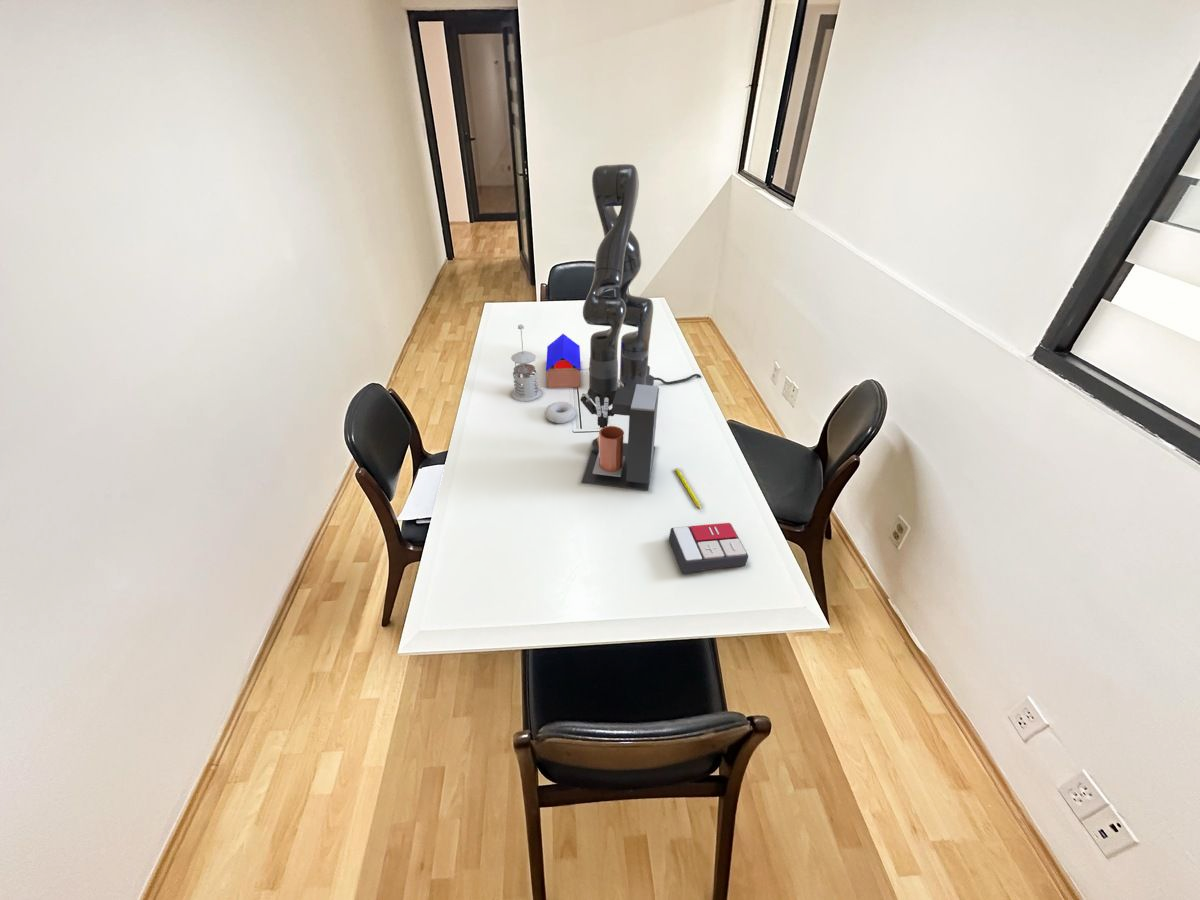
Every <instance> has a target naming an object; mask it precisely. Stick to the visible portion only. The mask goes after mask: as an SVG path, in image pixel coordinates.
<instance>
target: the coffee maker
mask: <svg viewBox="0 0 1200 900" xmlns="http://www.w3.org/2000/svg"><path fill="white" fill-rule="evenodd" d="M659 392H660V387H659V386H658V385H652V386H651V385H640V384H636V387H635V390H634V389H623V388H619V387H617V390H616V394H615V397H614V400H613V403H612V405H611V409H612V414H615V415H618V416H628V417H629V418H628V435H627V443H628V454H627V475H626V481H629V482H637V483H646V484H649V480H650V481H651V477H650V474H651V475H652V471H651V468H652V469H653V465H652V461H653V462H654V458H653V454H654V455H655V452H654V446H655V443H656V442H655V439H656V428H657V417H658V406H659V405H658V404H659V394H660V393H659ZM624 460H625V456H623V464H624ZM623 464H622V467H621V469H619V470H618V471H614V472H608V471H604V470H602V469H601V468H600V466H599V453H598V457H597V460H596V463H595V466H594V470H593V473H592V474H599V475H608V476H616V477H621V473H622V469H623ZM649 485H650V484H649Z"/></svg>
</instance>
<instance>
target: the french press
mask: <svg viewBox="0 0 1200 900" xmlns="http://www.w3.org/2000/svg"><path fill="white" fill-rule="evenodd" d="M517 329H518V330H520V337H521V340H523V331H522V330H523V329H525V326H524V324H518V325H517ZM523 342H524V341H521V349H522V350H521V351H518V352H516V353H514V354H512V355H511V356H510V360H511V361H512V362H514V368H513V372H512V376H513V387H514V390H513V392H512V395H511V396H512V398H513V399H514V400H516V401H520V402H532V401H535V400H537V399H538V398H540V397H541V395H542V393H541V390H539V389H538V374H537V373H538V372H537V370H536V366H535V365H533V364H531V363H533V362H534V361H536V358H537V356H536V355H535V354H534V353H533V352H531V351H526V350H524V345H523V344H524V343H523ZM521 375H522V377H521Z"/></svg>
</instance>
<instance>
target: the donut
mask: <svg viewBox="0 0 1200 900" xmlns="http://www.w3.org/2000/svg"><path fill="white" fill-rule="evenodd" d="M544 415H545V417H546V419H548V421H549V422H552V423H556V424H566V423H569V422H571V421H572V420H574V419H575V418H576V416H577V409H576V406H574V404H572V403H569V402H567V401H556V402H552V403H551V404H549V405H548V406H547V407H546V408H545V410H544Z"/></svg>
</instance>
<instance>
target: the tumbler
mask: <svg viewBox="0 0 1200 900" xmlns="http://www.w3.org/2000/svg"><path fill="white" fill-rule="evenodd" d="M598 437H599V466H600V468H601V469H602V470H604V471H608V472H614V471H618V470H619V469H621V467H622V464H623V444H624V443H625V442H624V439H625V432H624V430H623V429H622V428H621V427H619V426H616V425H607V427H606V426H605V427H604V428H600V429H599V431H598Z"/></svg>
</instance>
